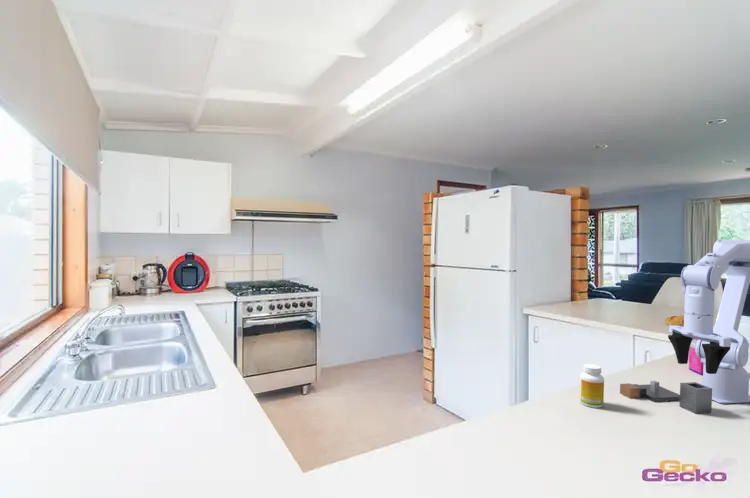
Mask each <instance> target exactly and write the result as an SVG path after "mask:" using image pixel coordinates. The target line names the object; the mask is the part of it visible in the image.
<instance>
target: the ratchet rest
mask: <svg viewBox="0 0 750 498" xmlns="http://www.w3.org/2000/svg"><path fill="white" fill-rule="evenodd" d="M619 394H621V395H622V396H624V397H626V398H627V399H640V398H645V399H647V400H649V401H651V402H653V403H656V402H659V403H660V402H674V401H675V402H677V401H679V402H680V393H677V392H675V391H672V390H669V389H667V388H665V387H663V386H660V382H658V381H657V380H650V381H649V384H638V383H636V384H635V383H633V384H632V383H619Z"/></svg>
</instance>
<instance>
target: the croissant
mask: <svg viewBox="0 0 750 498" xmlns="http://www.w3.org/2000/svg"><path fill="white" fill-rule="evenodd" d="M664 322H665V324H666V325H667V326H669V325H677V326H682V327H684V314H683V315H681V314H680V315H677V316H676V315H673V316H670V317H666V319H664Z"/></svg>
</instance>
